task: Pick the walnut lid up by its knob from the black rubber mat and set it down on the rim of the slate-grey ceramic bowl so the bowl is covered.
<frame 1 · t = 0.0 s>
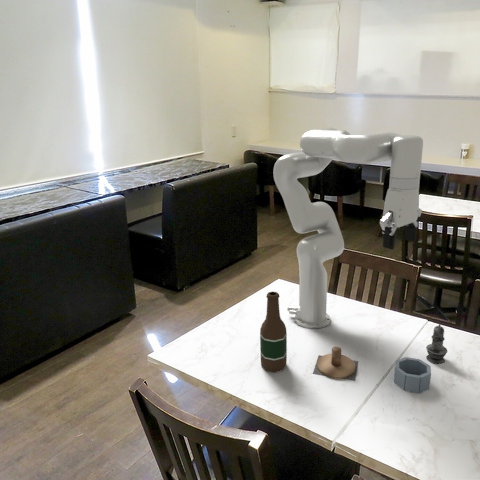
hand: (399, 244, 126), 37 cm above the table, tool pointing down, fingers open, 9 cm apart
lid: (336, 367, 135), resting on mat
beer bottle: (273, 366, 138), on the table
mat: (335, 368, 135), on the table
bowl: (411, 382, 128), on the table
ornate incense burner: (435, 359, 138), on the table
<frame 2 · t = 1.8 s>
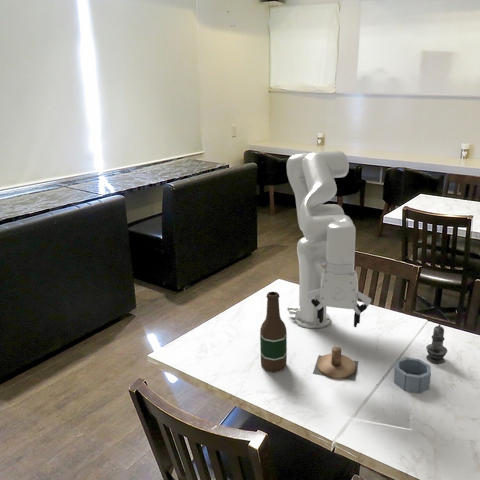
hand: (338, 322, 130), 15 cm above the table, tool pointing down, fingers open, 9 cm apart
nothing on the table moved.
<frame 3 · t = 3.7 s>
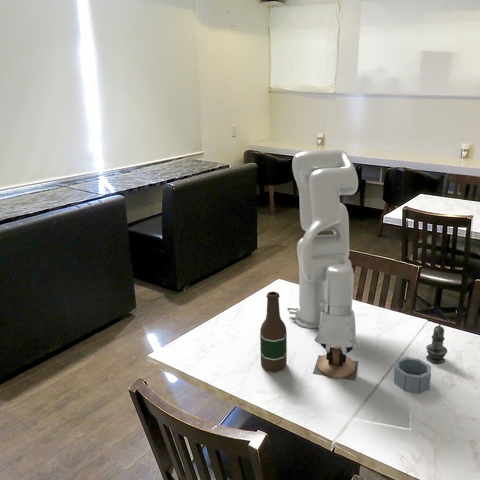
hand: (336, 362, 135), 2 cm above the table, tool pointing down, fingers closed on lid, 2 cm apart
lid: (335, 367, 135), resting on mat, touching gripper
everything else where it was.
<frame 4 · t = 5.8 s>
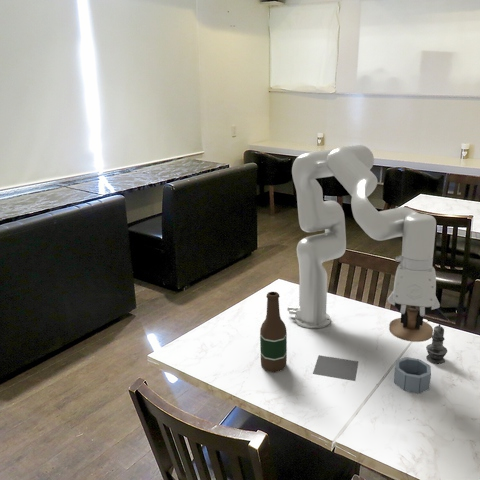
hand: (411, 325, 122), 18 cm above the table, tool pointing down, fingers closed on lid, 2 cm apart
lid: (410, 331, 123), point 16 cm above the table, touching gripper
everything else where it was.
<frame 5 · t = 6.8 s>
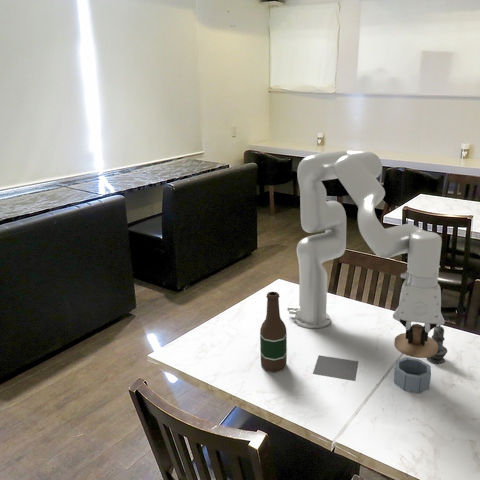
hand: (416, 341, 123), 13 cm above the table, tool pointing down, fingers closed on lid, 2 cm apart
lid: (415, 346, 124), point 12 cm above the table, touching gripper
everything else where it was.
when the fingers open (8 cm above the table, at t = 7.8 s): lid drops 2 cm, resting on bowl.
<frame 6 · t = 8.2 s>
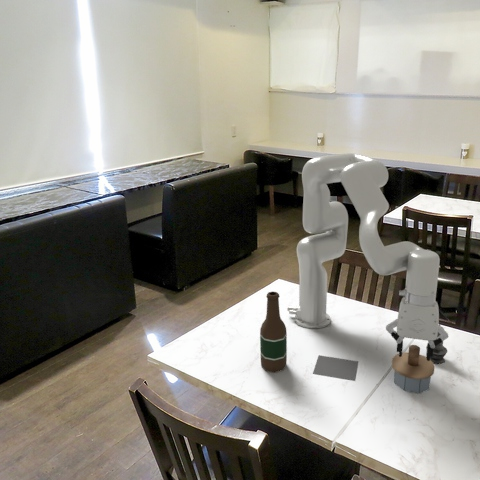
hand: (414, 355, 125), 9 cm above the table, tool pointing down, fingers open, 6 cm apart
lid: (412, 367, 126), point 5 cm above the table, touching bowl
everything else where it was.
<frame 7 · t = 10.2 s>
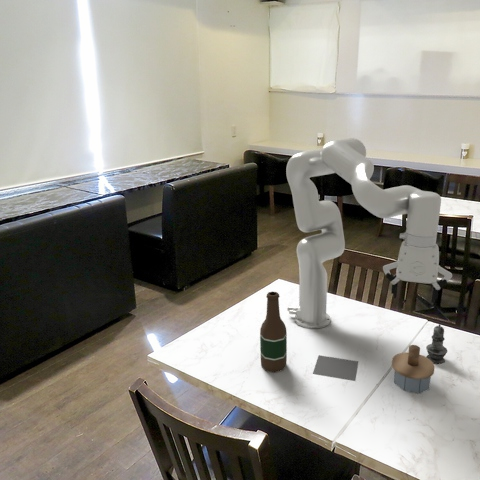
hand: (413, 298, 124), 24 cm above the table, tool pointing down, fingers open, 9 cm apart
nothing on the table moved.
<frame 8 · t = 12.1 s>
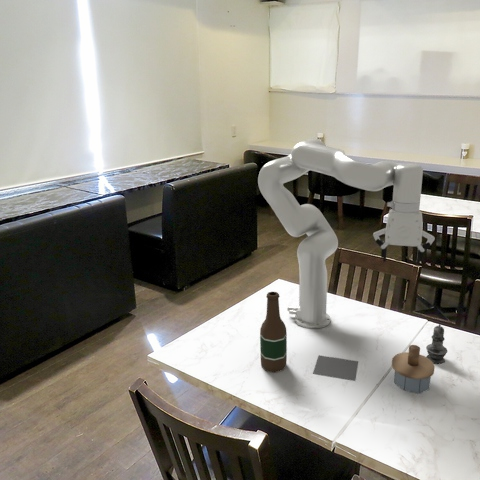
hand: (401, 261, 138), 28 cm above the table, tool pointing down, fingers open, 9 cm apart
nothing on the table moved.
at the end: lid 0.1 cm off-centre on the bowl, point 5.0 cm above the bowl's base; lid tilted 0°; the gripper is holding nothing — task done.
